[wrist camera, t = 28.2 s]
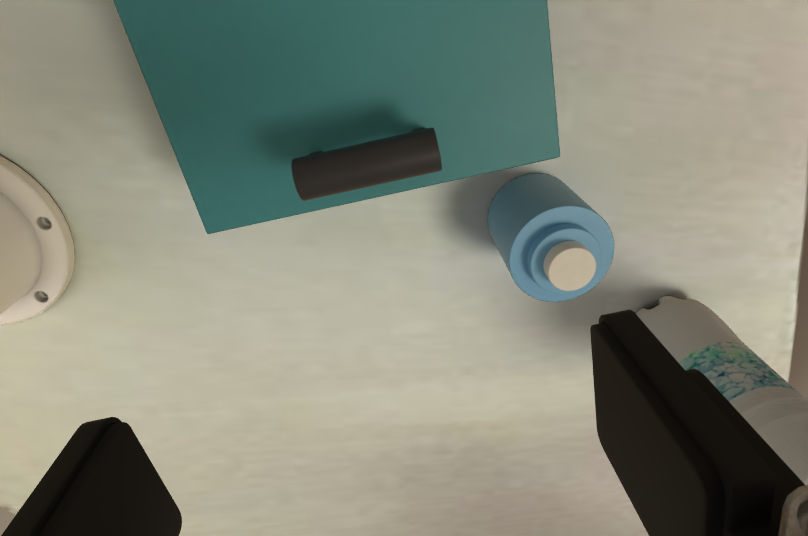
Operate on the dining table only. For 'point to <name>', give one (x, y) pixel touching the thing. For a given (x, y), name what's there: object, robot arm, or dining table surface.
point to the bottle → (735, 375)
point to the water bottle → (549, 238)
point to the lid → (342, 96)
